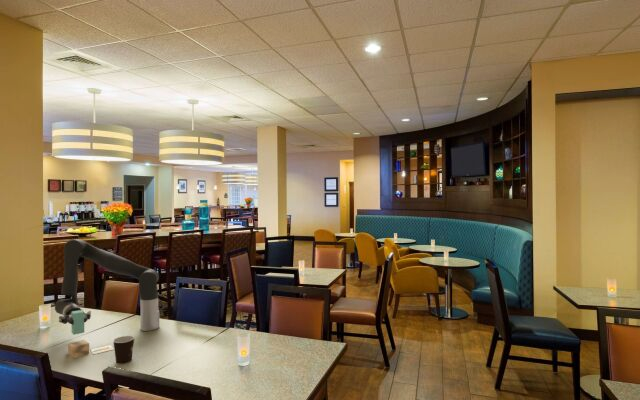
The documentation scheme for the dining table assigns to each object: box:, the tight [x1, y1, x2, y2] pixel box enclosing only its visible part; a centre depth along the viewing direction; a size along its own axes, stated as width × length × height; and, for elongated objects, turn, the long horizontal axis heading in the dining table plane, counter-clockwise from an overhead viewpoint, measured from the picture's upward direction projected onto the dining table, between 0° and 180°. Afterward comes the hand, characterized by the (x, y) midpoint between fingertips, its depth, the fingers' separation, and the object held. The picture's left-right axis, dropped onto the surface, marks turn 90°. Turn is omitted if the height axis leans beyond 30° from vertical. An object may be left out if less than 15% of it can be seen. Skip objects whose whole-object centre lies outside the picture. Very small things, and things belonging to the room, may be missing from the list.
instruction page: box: [89, 344, 115, 355], centre depth 186 cm, size 9×7×1 cm
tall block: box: [71, 309, 85, 335], centre depth 182 cm, size 4×4×10 cm
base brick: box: [67, 339, 90, 359], centre depth 182 cm, size 7×7×5 cm
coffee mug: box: [112, 335, 135, 365], centre depth 175 cm, size 12×9×10 cm
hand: (79, 321), depth 180 cm, fingers closed on tall block, 4 cm apart
